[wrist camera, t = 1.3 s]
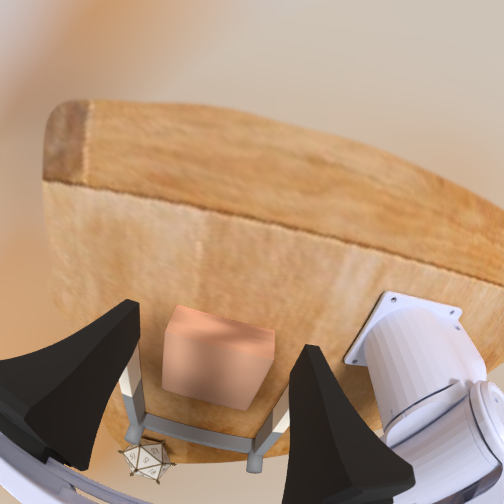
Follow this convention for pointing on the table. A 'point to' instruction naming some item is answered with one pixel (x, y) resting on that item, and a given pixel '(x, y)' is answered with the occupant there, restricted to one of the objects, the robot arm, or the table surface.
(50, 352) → the robot arm
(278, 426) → the lane walls
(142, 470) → the game die
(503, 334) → the table surface
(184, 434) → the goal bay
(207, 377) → the sliding block
